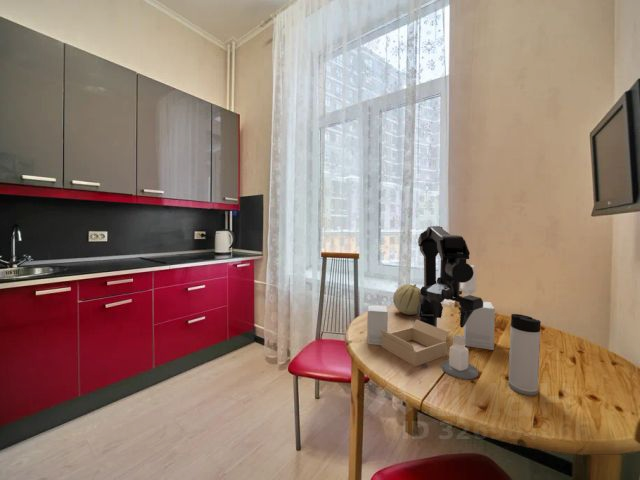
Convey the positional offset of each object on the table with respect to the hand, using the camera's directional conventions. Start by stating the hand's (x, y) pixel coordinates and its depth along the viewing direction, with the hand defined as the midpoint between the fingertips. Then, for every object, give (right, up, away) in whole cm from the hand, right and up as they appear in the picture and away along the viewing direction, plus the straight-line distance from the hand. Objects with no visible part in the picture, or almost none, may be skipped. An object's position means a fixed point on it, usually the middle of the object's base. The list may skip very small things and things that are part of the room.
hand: (448, 322), depth 87 cm
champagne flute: (+30, -10, +44) cm, 54 cm away
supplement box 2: (+17, -12, +12) cm, 24 cm away
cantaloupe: (+2, -10, +45) cm, 46 cm away
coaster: (0, -13, -6) cm, 14 cm away
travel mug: (+12, -13, -15) cm, 24 cm away
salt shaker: (0, -12, -6) cm, 14 cm away
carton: (-9, -12, +6) cm, 16 cm away
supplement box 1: (-20, -12, +15) cm, 28 cm away
